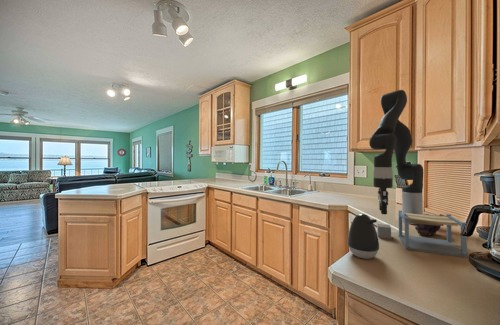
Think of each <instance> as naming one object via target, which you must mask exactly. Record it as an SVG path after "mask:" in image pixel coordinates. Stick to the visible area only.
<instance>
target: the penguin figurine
mask: <svg viewBox="0 0 500 325" xmlns="http://www.w3.org/2000/svg"><path fill="white" fill-rule="evenodd" d="M377 222H378V221H377V219H376V218H375V219H374V218H372V219H371V217H370V216H368V215H367V214H366V213H359V214H357V215H355V216H354V218H353V219H352V220H351V224H350V227H349V230H348V234H347V246H348V248H349V251H350V252H351V254H353V256H356V257H357V258H360V259H365V260H369V259H373V258H374V257H376V256H377V254H378V252H379V250H380V241H379V237H378V235H377V228H376V227H375V225H374V224H375V223H377Z"/></svg>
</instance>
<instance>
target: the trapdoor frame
mask: <svg viewBox="0 0 500 325" xmlns="http://www.w3.org/2000/svg"><path fill="white" fill-rule="evenodd" d="M397 214H398V238H399V240H400V241H401V243H402V245H403V247H404V248H405V250H408V251H414V252H415V251H417V252H423V253H430V254H438V255H443V256H451V257H460V258H465V257H466V259H469V254H468V238H467V237H468V236H461V235H460V247H459V246H457V245H456V244H455V243H454V242H453V240H452V225H446V239H442V238H432V237H426V236H414V235H410V224H409V218H408V217H406V216H405V215H404V214H403V213H402V210H398V213H397ZM445 216H446V217H449V218H450V219H451V220H453V221H455V222H457V223H458V226H460V234H461V233H462V231H463V228H464V226H465V230H464V232H466V233H468V231H467V230H468V228H467V222H466V221H465V222H464V221H461V220H459V219H457V218H455V217H454V216H452V214H449V213H447V214H446V215H445ZM403 220H404V222H403ZM403 223H404V234H403ZM465 224H466V225H465Z"/></svg>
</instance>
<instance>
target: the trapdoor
mask: <svg viewBox="0 0 500 325" xmlns="http://www.w3.org/2000/svg"><path fill="white" fill-rule="evenodd" d="M425 214H426V213H425ZM425 214H424V213H423V214H412V213H405V214H404V215H405V216H406V217H408V218H409V223H416V224H415V225H417V224H427V225H437V226H441V227H444V226H447V225H451V226H455V227H458V226H459V225H458V223H457V222H455V221H453V220H451V219H450V218H449V217H446V215H436V214H435V215H434V214H429V215H425Z"/></svg>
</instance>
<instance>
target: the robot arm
mask: <svg viewBox="0 0 500 325" xmlns="http://www.w3.org/2000/svg"><path fill="white" fill-rule="evenodd" d="M407 103H408V95H407V93H406V91H405V90H403V89H398V90H394V91H390V92H388V93H385V94H382V95H381V96H380V105H381V108H382V112H383V114H384V115H383V117H381V119H380V121H379V123H378V127H377V128H376V129H375V131H374V132H373V134H372V135H371V137H370V139H369V141H368V144H369V147H370V148H371V149H372V150H374V151H375V150H376V151H377V150H385V151H384V152H383V153H380V154H376V155H374V157H373V174H372V175H373V187H374V188H377V199H378V200H377V201H378V204H379V211H380V213H381V215H388V206H389V191H388V189H391V188H393V187H394V185H393V184H394V183H393V180H394V179H393V176H394V175H393V154H394V156H395V159H396V161H395V162H396V166H397V168H396V169H397V173H398V177H399V178H400V180H404V181H405V180H406V181H412V182H411V183H410V184H408V185H404V186H402V187H401V194H402V195H401V197H402V198H401V203H402V205H401V206H402V208H401V211H402V213H403V214H405V213H412V214H424V212H423V211H424V210H423V209H424V207H423V205H424V203H423V200H424V199H423V197H424V196H423V189H424V167H423V165H422V164H420V163H407V158H406V157H407V154H408V152H409V150H410V148H411V146H412V143H413V138H412V134H411V130H410V129H409V127H408V126H407V125H406V124H404V123H403V122H402V121H401V120H399V118H400V117H401V115H402V113H403V111H404V110H405V107H406V106H407ZM402 223H405V222H404V220H403V219H402ZM411 224H412V225H417V224H416V223H409V225H411Z"/></svg>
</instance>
